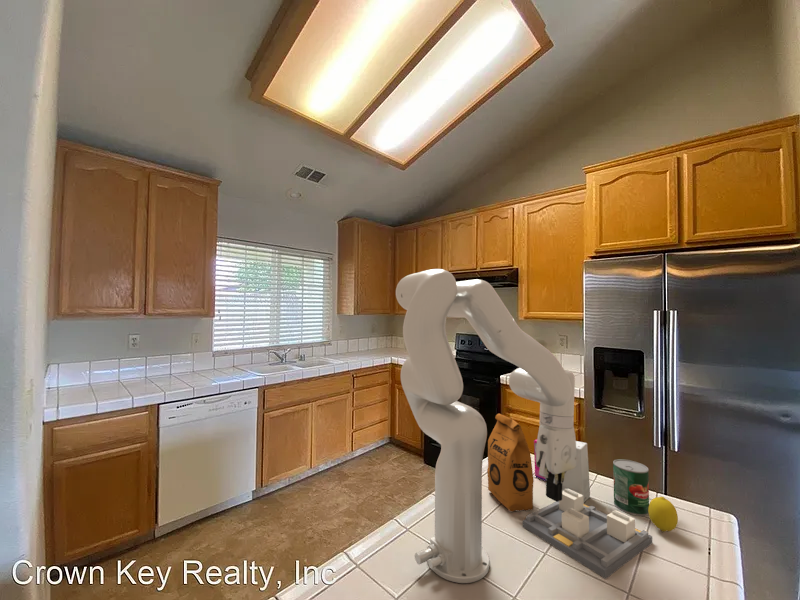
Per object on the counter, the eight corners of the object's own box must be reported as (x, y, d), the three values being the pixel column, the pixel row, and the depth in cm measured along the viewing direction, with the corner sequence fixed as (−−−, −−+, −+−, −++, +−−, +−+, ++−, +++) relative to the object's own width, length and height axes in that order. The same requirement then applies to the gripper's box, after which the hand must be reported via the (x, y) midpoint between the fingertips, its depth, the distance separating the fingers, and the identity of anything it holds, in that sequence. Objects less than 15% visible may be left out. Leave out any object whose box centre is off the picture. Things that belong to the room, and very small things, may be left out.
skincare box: (590, 497, 96) (589, 443, 97) (582, 505, 92) (582, 448, 93) (559, 486, 102) (559, 435, 103) (551, 493, 98) (550, 440, 99)
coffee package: (503, 515, 87) (504, 426, 88) (483, 490, 99) (483, 413, 100) (539, 511, 89) (539, 425, 90) (515, 487, 101) (515, 411, 102)
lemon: (649, 521, 85) (648, 488, 85) (678, 531, 81) (677, 496, 82) (647, 532, 81) (647, 497, 81) (678, 542, 77) (677, 506, 77)
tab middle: (579, 541, 75) (578, 519, 75) (561, 531, 78) (561, 510, 78) (589, 535, 77) (588, 513, 77) (571, 525, 80) (571, 505, 80)
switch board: (605, 578, 66) (605, 565, 66) (522, 526, 82) (522, 516, 82) (652, 543, 77) (652, 531, 77) (570, 503, 93) (570, 493, 93)
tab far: (574, 516, 84) (574, 497, 84) (559, 508, 87) (559, 490, 87) (583, 511, 86) (583, 492, 86) (568, 504, 89) (568, 486, 90)
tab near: (626, 543, 74) (626, 521, 74) (606, 533, 77) (606, 512, 78) (635, 537, 76) (634, 516, 76) (615, 527, 80) (615, 507, 80)
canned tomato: (618, 496, 97) (617, 456, 97) (652, 507, 91) (651, 465, 92) (610, 507, 91) (609, 464, 92) (646, 520, 86) (645, 474, 86)
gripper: (551, 428, 76) (549, 514, 75) (588, 421, 85) (586, 498, 83) (523, 419, 83) (520, 498, 82) (559, 413, 91) (557, 485, 90)
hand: (553, 498), depth 82 cm, fingers closed
